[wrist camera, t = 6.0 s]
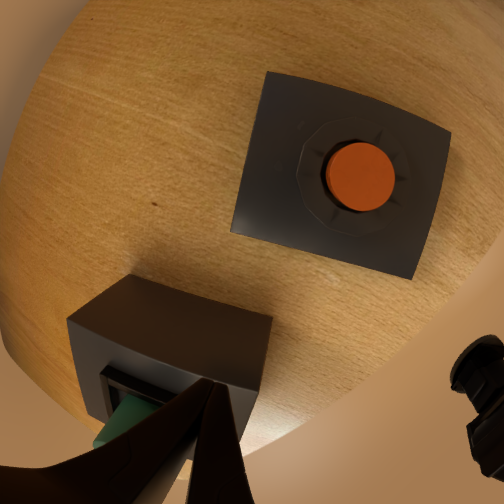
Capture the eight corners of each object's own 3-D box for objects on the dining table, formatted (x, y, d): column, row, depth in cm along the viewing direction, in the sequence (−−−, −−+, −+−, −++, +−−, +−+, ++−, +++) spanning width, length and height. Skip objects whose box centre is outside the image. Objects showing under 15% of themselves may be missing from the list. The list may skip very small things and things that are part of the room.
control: (436, 135, 15) (466, 129, 11) (400, 269, 18) (422, 291, 14) (270, 81, 16) (263, 59, 12) (237, 225, 19) (222, 239, 15)
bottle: (176, 405, 14) (132, 491, 8) (174, 434, 15) (139, 508, 9) (123, 383, 14) (68, 456, 8) (127, 415, 15) (84, 481, 9)
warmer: (273, 316, 20) (256, 405, 12) (245, 402, 23) (224, 481, 15) (128, 273, 21) (55, 325, 13) (129, 362, 24) (81, 422, 16)
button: (389, 156, 13) (401, 155, 11) (375, 213, 14) (385, 219, 12) (333, 138, 13) (338, 133, 11) (319, 196, 14) (322, 200, 12)
